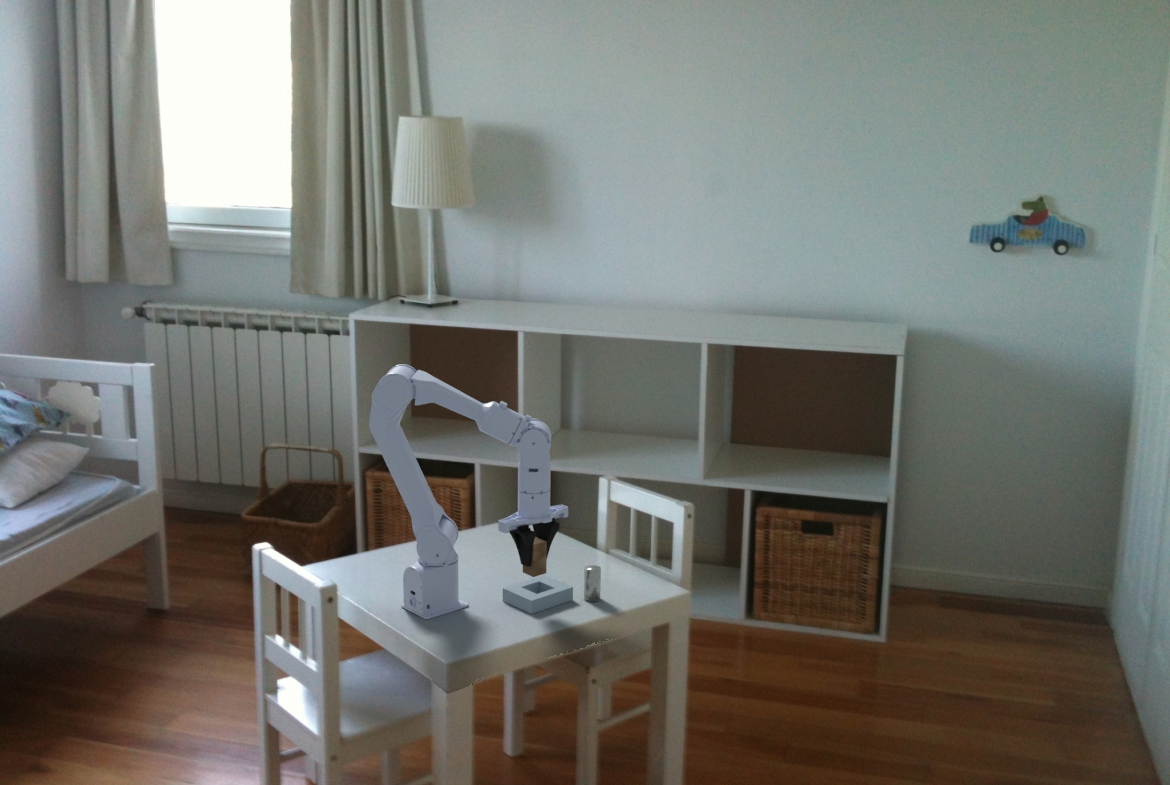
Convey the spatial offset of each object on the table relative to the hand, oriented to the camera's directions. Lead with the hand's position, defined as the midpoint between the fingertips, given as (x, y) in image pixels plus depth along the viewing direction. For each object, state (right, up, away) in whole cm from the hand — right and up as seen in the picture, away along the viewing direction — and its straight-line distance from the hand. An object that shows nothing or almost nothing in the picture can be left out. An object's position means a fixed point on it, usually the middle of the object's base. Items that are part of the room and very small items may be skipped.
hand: (533, 562), depth 202 cm
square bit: (0, -2, 0) cm, 2 cm away
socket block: (+1, -8, +5) cm, 9 cm away
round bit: (+11, -8, +6) cm, 14 cm away
